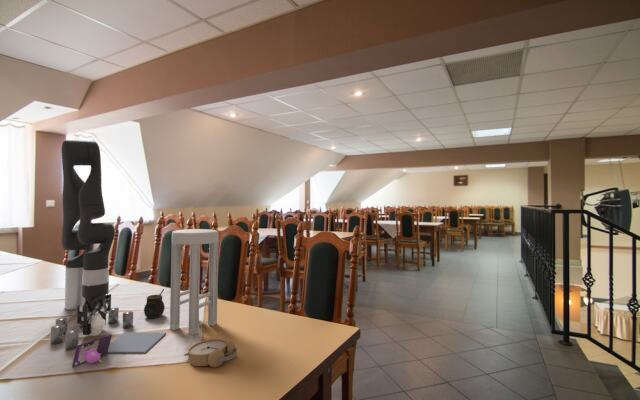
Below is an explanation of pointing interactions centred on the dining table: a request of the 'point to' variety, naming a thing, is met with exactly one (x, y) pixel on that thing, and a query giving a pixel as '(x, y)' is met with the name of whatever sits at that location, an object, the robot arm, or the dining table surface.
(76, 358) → the game card
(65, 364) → the dining table surface
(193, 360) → the alarm clock
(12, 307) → the dining table surface
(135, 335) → the rubber mat
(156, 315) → the mate gourd
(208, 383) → the dining table surface
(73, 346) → the posts
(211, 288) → the stool
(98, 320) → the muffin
